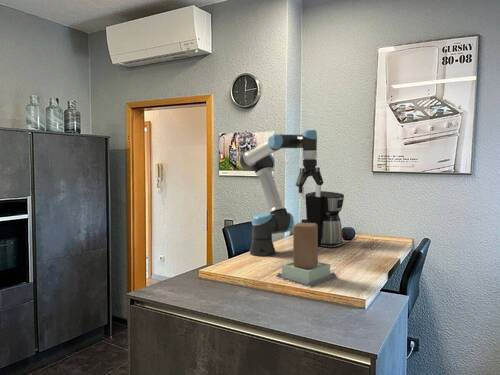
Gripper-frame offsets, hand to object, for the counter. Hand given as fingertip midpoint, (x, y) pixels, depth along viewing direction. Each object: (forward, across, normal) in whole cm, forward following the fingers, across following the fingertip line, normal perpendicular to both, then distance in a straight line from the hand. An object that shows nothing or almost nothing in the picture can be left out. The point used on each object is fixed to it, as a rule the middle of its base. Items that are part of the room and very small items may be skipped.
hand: (309, 197), depth 214 cm
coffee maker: (+35, +36, +21) cm, 54 cm away
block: (+29, -26, -20) cm, 44 cm away
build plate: (+34, -26, -20) cm, 47 cm away
